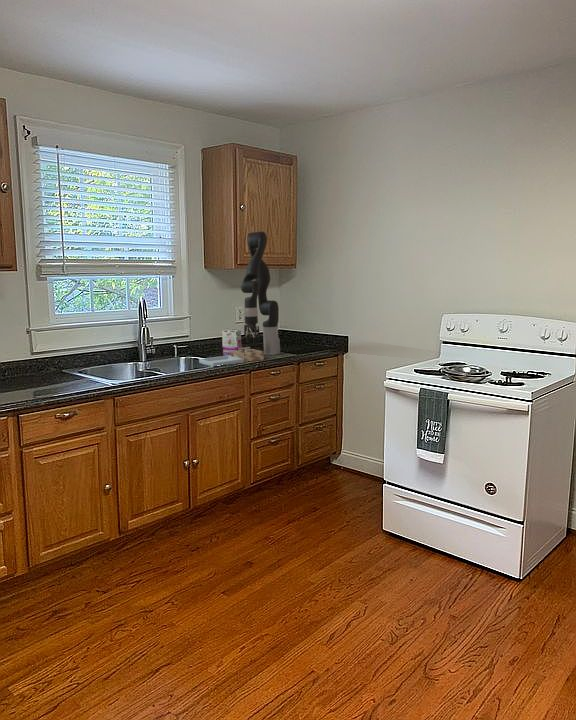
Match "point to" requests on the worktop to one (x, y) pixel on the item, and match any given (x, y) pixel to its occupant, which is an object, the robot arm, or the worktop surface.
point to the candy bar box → (231, 342)
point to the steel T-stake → (246, 349)
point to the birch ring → (249, 355)
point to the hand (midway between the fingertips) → (252, 343)
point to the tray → (220, 360)
